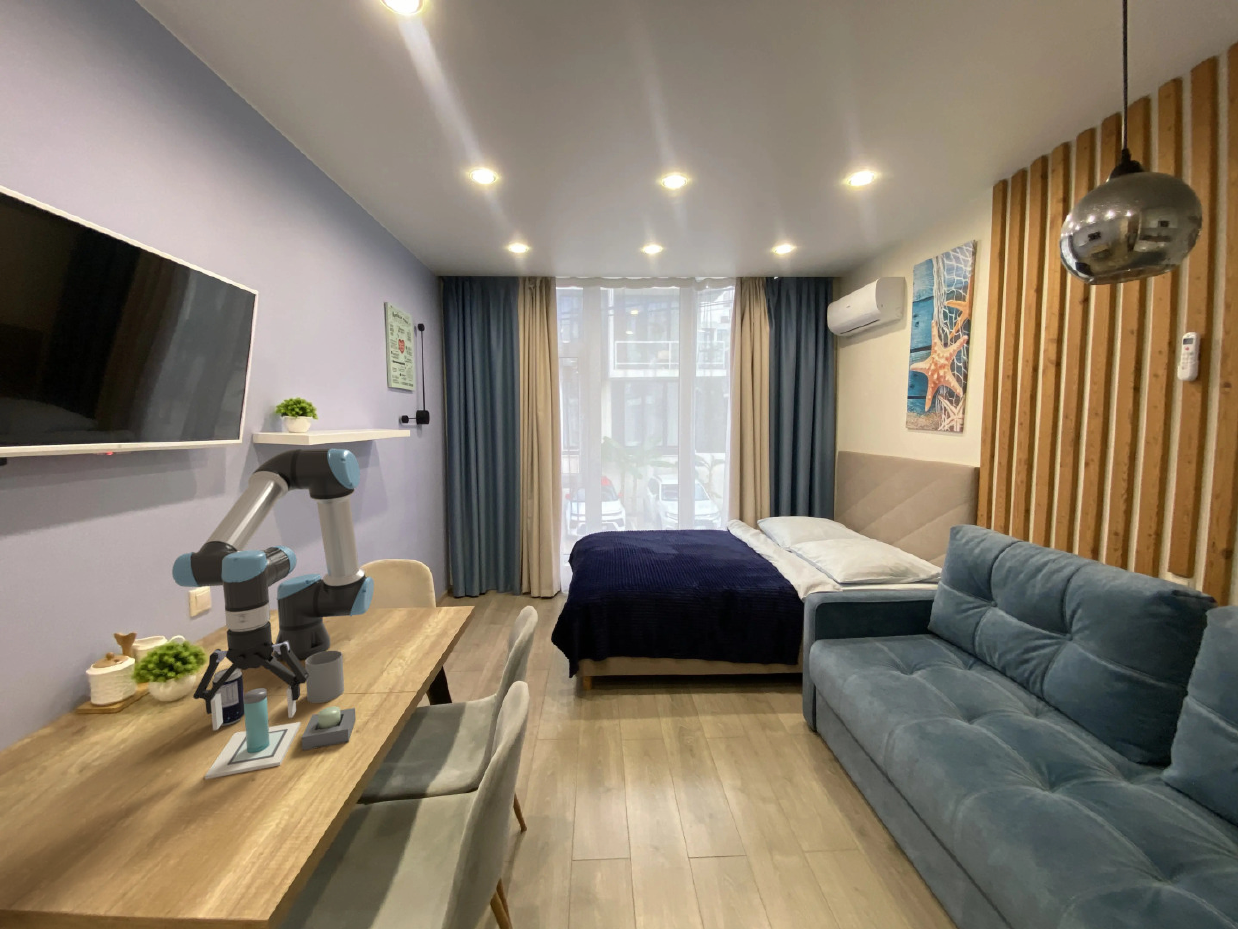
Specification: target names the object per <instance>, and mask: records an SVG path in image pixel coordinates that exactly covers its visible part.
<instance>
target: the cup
mask: <svg viewBox="0 0 1238 929" xmlns="http://www.w3.org/2000/svg"><path fill="white" fill-rule="evenodd" d="M343 656H344V655H343V652H342V651H339V650H325V651H324V652H320V653H317V654H314V655H312V656H310V657H308V658H305V661H304V663H305V664H304V665H305V667H304V668H305V669H306V671H307V672H308V674H309V677H308V678H307V680H306V682H305V683H306V686H305V687H306V699H307V701H308V702H309V703H311V704H322V703H326V702H330V701H333V700H335V699H338V698H339V697H340V696H341V695H343V693H344V691H345V682H344V680H345V678H344V660H343Z"/></svg>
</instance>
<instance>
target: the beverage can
mask: <svg viewBox="0 0 1238 929" xmlns="http://www.w3.org/2000/svg"><path fill="white" fill-rule="evenodd" d="M228 669H229V667H228V668H224V669H221V670H219V671H217V672H215V673H214V675H213V678H212V680H211V681H212V687H213V686H214V685H215V684H216V683H217V681H218V680H219V679H220V678H221V677H222V676H223V674H224V673H225V672H226V671H227V670H228ZM244 691H245V690H244V679H243V673H242V670H241V669H239V668H237V669H236V670H235V671H234V672H233V673H232V674H231V676H230V677H229V678H228V679H227V680H226V681H225V683H224V684H223V685H222V686H221V687H220V688H219V690H218V691H217V692H216V693H215V695H216V694H220V693H221V704H222V717H223V723H222V724H221V727H223V726H230V725H233V724H236V723H238V722H239V721H240V720H242V717H243V716H245V712H244V701H243V695H244V694H245V693H244Z"/></svg>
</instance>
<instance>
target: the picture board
mask: <svg viewBox="0 0 1238 929" xmlns="http://www.w3.org/2000/svg"><path fill="white" fill-rule="evenodd" d="M301 724H302V723H301V721H298V722H290V723H284V724H279V725H272V726H269V742H270V744H269V746H268V747H267V748H266V749H264V750H262V751H260V752H256V753H248V752H247V743H246V730H245V731H238V732H234V733H233V735H232V736H231V738H230V739H229V740H228V742H227V743H226V745H225V747H224V748H223V749H222V751H221V752H220V753H219V755H218V756H217V758H216V759H215V761H214V762H213V763H212V765H211V766H210V767H209V769H208V770H207V772H206V773H205V775H204V779H205V780H210V779H215V778H218V777H224V776H229V775H235V774H241V773H245V772H247V773H248V772H251V771H257V770H262V769H267V768H273V767H277V766H281V765H282V762H283V761H284V759H285V758H286V755H287V753H288V751H289V749H290V747H291V744H292V743H293V741H294V739H295V737H296V735H297V733H298V731H299V729H300V727H301Z"/></svg>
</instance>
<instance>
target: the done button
mask: <svg viewBox="0 0 1238 929" xmlns="http://www.w3.org/2000/svg"><path fill="white" fill-rule="evenodd" d="M340 710H341V707H340V706H328V707H325V708H323V709H320V710H319V712H318V713H317V714H318V725H319V729H324V728H330V727H336V726H339V725H340V724H341V716H340Z"/></svg>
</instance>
